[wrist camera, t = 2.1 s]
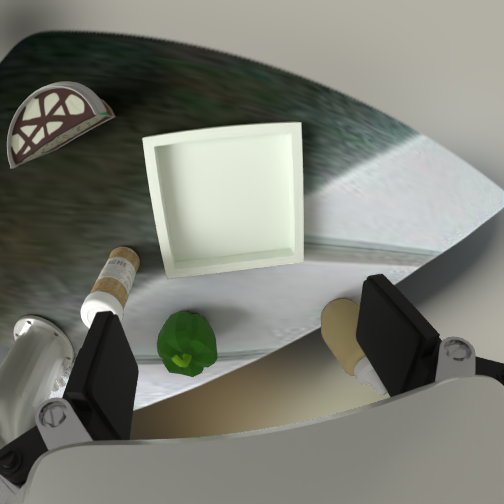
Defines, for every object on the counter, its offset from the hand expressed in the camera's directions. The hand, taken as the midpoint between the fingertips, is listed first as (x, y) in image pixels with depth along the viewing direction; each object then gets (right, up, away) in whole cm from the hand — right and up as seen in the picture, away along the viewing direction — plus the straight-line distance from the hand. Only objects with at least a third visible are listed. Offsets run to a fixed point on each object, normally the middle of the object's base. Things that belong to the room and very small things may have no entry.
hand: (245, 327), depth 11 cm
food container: (-22, +20, +20) cm, 36 cm away
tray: (-3, +10, +28) cm, 30 cm away
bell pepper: (-10, -8, +36) cm, 38 cm away
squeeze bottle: (+14, -7, +39) cm, 42 cm away
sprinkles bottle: (-17, +2, +30) cm, 34 cm away
